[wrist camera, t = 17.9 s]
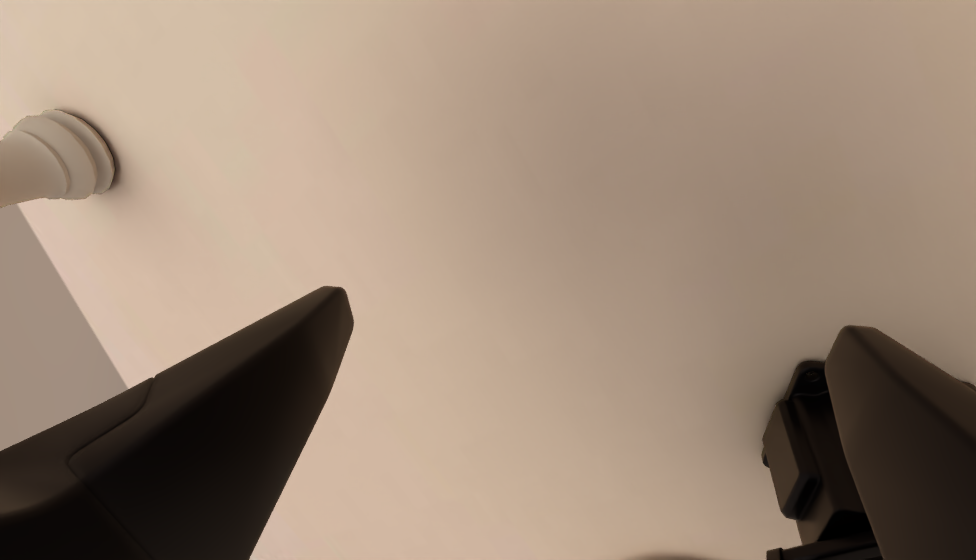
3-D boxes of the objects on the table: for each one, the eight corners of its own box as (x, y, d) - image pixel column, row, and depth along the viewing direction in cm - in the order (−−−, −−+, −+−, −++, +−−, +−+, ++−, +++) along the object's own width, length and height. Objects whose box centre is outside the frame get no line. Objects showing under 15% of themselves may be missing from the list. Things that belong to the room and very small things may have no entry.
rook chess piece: (84, 198, 28) (-90, 268, 21) (28, 119, 26) (-184, 169, 19) (136, 182, 26) (-35, 252, 19) (80, 96, 24) (-131, 142, 17)
